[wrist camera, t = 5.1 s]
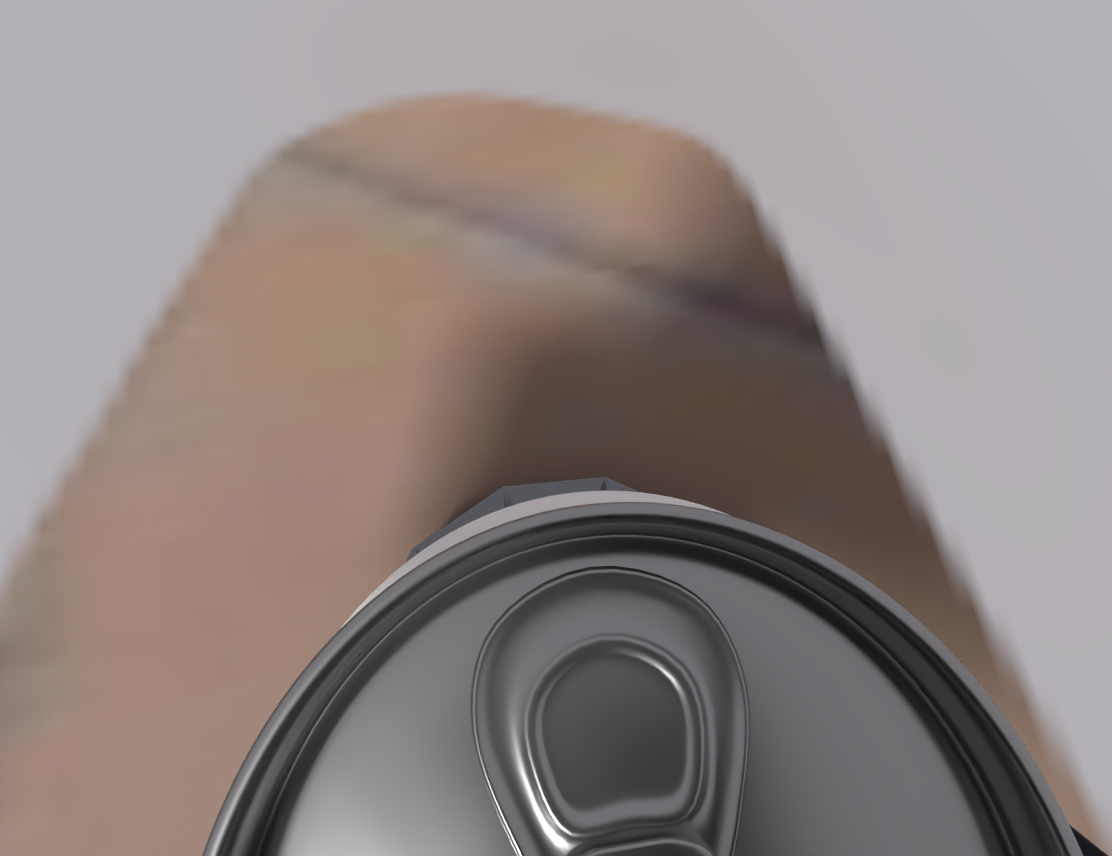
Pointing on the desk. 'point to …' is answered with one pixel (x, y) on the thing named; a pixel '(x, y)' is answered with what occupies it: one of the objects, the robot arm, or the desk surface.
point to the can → (635, 707)
